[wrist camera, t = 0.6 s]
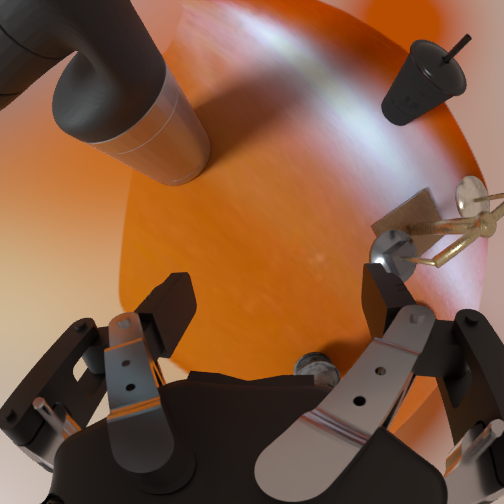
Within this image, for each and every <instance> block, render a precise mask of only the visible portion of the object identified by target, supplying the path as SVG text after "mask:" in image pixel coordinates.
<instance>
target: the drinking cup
mask: <svg viewBox="0 0 504 504" xmlns="http://www.w3.org/2000/svg"><path fill="white" fill-rule="evenodd" d="M471 39H472V38H471V37H470V36H469V35H468V34H466V35H465V36H464V37H463V38H462V39H461V40H460V41H459V42H458V43H457V44H456V45H455V47H453V49H452V50H451V51H450V52H449V53H448V52H447V51H446V50H444V49H443V48H442V47H440V46H439V45H437V44H435V43H433V42H431V41H427V40H416V41H415V42H413V43H412V45H411V47H410V53H409V55H408V57H407V59H406V61H405V63H404V64H403V66H402V68H401V70H400V72H399V73H398V75H397V77H396V79H395V81H394V82H393V84H392V86H391V88H390V89H389V91H388V93H387V95H386V96H385V98H384V100H383V102H382V104H381V108H382V112H383V114H384V116H385V117H386V118H387V119H388V120H389V121H390V122H391V123H393V124H395V125H398V126H403V125H406V124H407V123H409V122H411V121H412V120H414V119H416V118H417V117H419V116H421V115H422V114H424V113H426V112H427V111H429V110H431V109H433V108H434V107H436V106H438V105H439V104H441V103H443V102H445V101H446V100H448V99H450V98H451V97H453V96H459V95H461V94H463V93H464V92H465V90H466V86H467V84H466V78H465V75H464V73H463V71H462V69H461V67H460V66H459V64H458V63H457V61H456V60H455V59H454V58H453V57H454V56H455V55H456V54H457V53H458V52H459V51H460V50H461V49H462V48H463V47H464V46H465V45H466V44H467V43H468V42H469V41H470V40H471Z"/></svg>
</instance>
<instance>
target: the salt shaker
mask: <svg viewBox="0 0 504 504" xmlns="http://www.w3.org/2000/svg"><path fill="white" fill-rule="evenodd" d="M312 374H314V383H315V384H320V385H324V386H328V387H331V388H333V389H334V388H335V386H336V385H337V384H338V383H339V382H340V373H339V370H338V369H337V367H336V366H334V365H333V364H332V363H331V360H330V359H329V357H327V356H326V355H325V354H322V353H318V352H313V353H308V354H306V355H304V356H302V357H301V358H300V359H299V360H298V361H297V363H296V364H295V367H294V375H312Z"/></svg>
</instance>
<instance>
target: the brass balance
mask: <svg viewBox="0 0 504 504" xmlns="http://www.w3.org/2000/svg"><path fill="white" fill-rule="evenodd" d="M499 198H504V193H501V194H496V195H491V196H488V193H487V190H486V188H485V186H484V184H483V183H482V182H481V181H480V180H479V179H478V178H477V177H475V176H466V177H463V178H462V179H461V180H460V181H459V183H458V185H457V188H456V204H457V208H458V211H459V213H460V215H461V217H462V218H456V219H447V220H441V219H440V216H439V214H438V212H437V210H436V208H435V206H434V204H433V202H432V200H431V198H430V196H429V194H428V192H427V190H426V189H424V190H421V191H420V192H418V193H417V194H415V195H414V196H413V197H411V198H410V199H408V200H407V201H406V202H404V203H403V204H401V205H400V206H399V207H397V208H396V209H394V210H393V211H392V212H390V213H389V214H387V215H386V216H384V217H383V218H382V219H380V220H379V221H377V222H376V223H374V224H373V225H371V228H372V229H373V231H374V233H375V235H376V237H377V238H376V239H375V240H374V242H373V244H372V246H371V249H370V254H369V262H370V263H381V264H382V265H383V267H384V268H385V270H386V272H387V273H391V272H392V273H394V274H395V275H397V276H398V277H400V278H401V280H402V281H403V282H405V281H406V280H408V279H409V278H410V276H411V275H412V274H413V272H414V270H415V268H416V264H418V263H419V264H426V265H432V266H436V267H437V268H439V267H441V266H442V265H443V264H445V263H446V262H448V261H449V260H450V259H452V258H453V257H454V256H456V255H457V254H458V253H459V252H461V251H462V250H463V249H465V248H466V247H467V246H468V245H470V244H471V243H472V242H473V241H475V240H476V239H477V238H478V237H479V236H480V237H482V238H489V237H491V236H492V235H493V234H494V233H495V231H496V222H497V221H498V220H499V219H500V218H501V217H502V216H504V202H502V203H501V204H500V205H499V206H498V207H497V208H496V209H495V210H493V211H492V212H491V213H490V212H489V209H490V202H489V200H493V199H499ZM450 234H464V235H463V236H462V237H460V238H459V239H458V240H456V241H455V242H454V243H452V244H451V245H450V246H448V247H447V248H446V249H444V250H443V251H442V252H440V253H439V254H437V255H436V256H435V257H433V260H432V259H424V258H418V257H419V256H421V255H422V254H423V253H424V252H426V251H427V250H428V249H429V248H430V247H432V246H433V245H434V244H435V243H436V242H437V241H439V240H440V239H441V238H442V237H443V236H444V235H450Z"/></svg>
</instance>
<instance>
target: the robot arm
mask: <svg viewBox="0 0 504 504" xmlns="http://www.w3.org/2000/svg"><path fill="white" fill-rule="evenodd" d="M74 51H78V52H77V54H76V55H75V56H74V57H73V58H72V60H71V61H70V62H69V64H68V65H67V67H66V68H65V70H64V71H63V73H62V75H61V77H60V79H59V81H58V83H57V85H56V88H55V91H54V95H53V102H52V111H53V116H54V119H55V121H56V123H57V125H58V126H59V127H60V128H61V129H62V130H63V131H64V132H65V133H67V134H69V135H71V136H73V137H75V138H76V139H78V140H80V141H82V142H85V143H86V144H88V145H90V146H92V147H94V148H96V149H98V150H100V151H102V152H104V153H106V154H107V155H110V156H111V157H113V158H115V159H117V160H119V161H121V162H123V163H124V164H127V165H128V166H130V167H132V168H134V169H136V170H137V171H139V172H141V173H143V174H145V175H147V176H148V177H150V178H152V179H154V180H156V181H158V182H159V183H162V184H165V185H171V186H174V185H181V184H184V183H187V182H189V181H191V180H193V179H194V178H195V177H196V176H198V175H199V174H200V173H201V172H202V170H203V169H204V168H205V166H206V164H207V162H208V160H209V157H210V150H211V146H210V140H209V137H208V135H207V133H206V131H205V130H204V128H203V126H202V124H201V122H200V121H199V119H198V117H197V115H196V113H195V112H194V110H193V108H192V106H191V105H190V103H189V101H188V100H187V98H186V96H185V94H184V93H183V91H182V89H181V87H180V86H179V84H178V82H177V81H176V79H175V77H174V75H173V74H172V72H171V71H170V69H169V67H168V65H167V64H166V62H165V60H164V59H163V57H162V55H161V53H160V52H159V50H158V49H157V47H156V45H155V44H154V42H153V40H152V38H151V37H150V35H149V33H148V31H147V30H146V28H145V26H144V24H143V22H142V21H141V19H140V17H139V16H138V14H137V12H136V11H135V9H134V7H133V6H132V3H131V2H130V0H0V111H1V110H2V109H3V108H5V107H6V106H7V105H9V104H10V103H11V102H12V101H14V100H15V99H16V98H17V97H18V96H19V95H21V94H22V93H23V92H24V91H25V90H26V89H27V88H28V87H29V86H30V85H31V84H33V83H34V82H35V81H36V80H37V79H38V78H40V77H41V76H42V75H43V74H45V73H46V72H47V71H48V70H49V69H51V68H52V67H53V66H55V65H56V64H57V63H59V62H60V61H61V60H63V59H64V58H65V57H67V56H68V55H70V54H71V53H73V52H74ZM361 299H362V308H363V311H364V314H365V317H366V320H367V324H368V327H369V330H370V333H371V337H372V342H371V343H370V344H369V346H368V347H367V348H366V350H365V351H364V352H363V353H362V355H361V356H360V357H359V359H358V360H357V361H356V362H355V364H354V365H353V366H352V367H351V369H350V370H349V371H348V372H347V373H346V375H345V376H344V377H343V378H342V379H341V381H340V382H339V383H338V384H337V385H336V386H335V388H334V389H333V388H331V387H328V386H324V385H320V384H315V383H314V374H312V375H281V376H275V377H270V378H264V379H258V380H252V381H246V380H242V379H238V378H234V377H230V376H227V375H223V374H220V373H209V372H198V371H190V373H189V375H188V378H187V379H184V380H178V381H175V382H171V383H168V384H166V382H165V380H164V377H163V374H162V371H161V368H160V365H159V363H158V361H157V360H158V358H159V357H162V358H170V357H171V355H172V354H173V352H174V350H175V348H176V346H177V345H178V343H179V341H180V339H181V338H182V336H183V334H184V332H185V330H186V329H187V327H188V325H189V323H190V322H191V320H192V318H193V316H194V315H195V313H196V308H197V304H196V298H195V294H194V290H193V286H192V282H191V278H190V275H189V274H188V273H187V272H179V273H171V274H170V276H169V277H168V278H167V279H166V280H165V281H164V282H163V283H162V284H160V285H159V286H157V287H155V288H154V289H153V291H152V292H151V293H150V295H148V296H147V297H146V300H144V301H143V302H142V303H141V304H140V305H139V306H138V308H137V309H136V310H135V311H134V312H126V313H122V314H120V315H118V316H116V317H114V318H113V319H112V320H111V321H110V323H109V326H107V327H99V328H97V326H96V324H95V322H94V320H93V319H92V318H83V319H80V320H78V321H76V322H74V323H73V324H72V325H71V326H70V327H69V328H68V329H67V330H66V331H65V332H64V333H63V334H62V335H61V336H60V338H59V339H58V340H57V341H56V342H55V343H54V344H53V345H52V346H51V348H50V349H49V350H48V351H47V352H46V353H45V354H44V355H43V357H42V358H41V359H40V360H39V361H38V362H37V364H36V365H35V366H34V367H33V368H32V369H31V371H30V372H29V373H28V374H27V376H26V377H25V378H24V379H23V380H22V382H21V383H20V384H19V385H18V387H17V388H16V389H15V390H14V392H13V393H12V394H11V396H10V397H9V398H8V399H7V401H6V402H5V403H4V405H3V406H2V407H1V409H0V428H1V430H2V431H3V432H4V433H5V434H6V435H7V436H8V437H9V438H10V439H11V440H12V441H13V443H14V444H15V445H16V446H17V447H19V448H20V449H21V450H22V451H23V452H24V453H25V454H26V455H27V456H28V457H30V458H31V459H32V460H34V461H35V462H37V463H38V464H39V465H40V466H42V467H43V468H44V469H46V470H47V471H48V472H51V473H53V477H52V483H51V488H50V491H49V494H48V496H47V498H46V499H45V500H44V501H43V502H42V503H41V504H490V503H492V502H493V501H495V500H497V499H498V498H500V497H501V496H503V495H504V345H503V343H502V341H501V340H500V338H499V337H498V335H497V334H496V332H495V331H494V329H493V328H492V326H491V325H490V323H489V322H488V320H487V319H486V318H485V316H484V315H483V314H481V313H480V312H478V311H476V310H472V309H463V310H460V311H458V312H457V314H456V316H455V319H454V321H446V320H437V319H435V315H434V313H433V312H432V311H431V310H430V309H428V308H427V307H424V306H421V305H417V303H416V302H415V300H414V299H413V297H412V295H411V294H410V292H409V291H408V290H407V288H406V286H405V285H404V283H403V281H402V280H401V278H400V277H398V276H397V275H395V274H394V273H392V272H391V273H387V272H386V270H385V268H384V267H383V265H382V264H381V263H366V264H364V267H363V281H362V296H361ZM81 356H82V358H83V360H84V362H85V363H86V365H87V367H88V368H87V369H86V371H85V372H84V374H83V375H82V377H81V378H80V379H79V381H78V382H77V380H76V379H75V377H74V375H73V368H74V366H75V364H76V363H77V362H78V360H79V359H80V358H81ZM469 368H470V369H469ZM417 375H418V376H430V377H436V381H437V384H438V387H439V390H440V393H441V396H442V400H443V403H444V406H445V410H446V414H447V417H448V421H449V425H450V429H451V433H452V437H453V442H454V448H453V449H452V450H451V451H450V452H449V454H448V456H447V459H446V471H445V475H444V477H443V476H442V474H441V473H440V472H439V470H438V469H437V468H435V467H434V466H433V465H431V464H430V463H429V462H428V461H426V460H425V459H424V458H422V457H421V456H420V455H418V454H417V453H416V452H415V451H413V450H412V449H411V448H410V447H408V446H407V445H406V444H404V443H403V442H402V441H401V440H399V439H398V438H397V437H396V436H394V435H393V434H392V433H391V432H389V431H388V428H389V427H390V425H391V423H392V421H393V419H394V418H395V416H396V414H397V412H398V410H399V408H400V407H401V405H402V403H403V401H404V399H405V397H406V396H407V394H408V392H409V390H410V388H411V386H412V384H413V382H414V380H415V378H416V376H417ZM106 392H108V401H109V408H110V414H109V415H108V416H107V417H106V418H104V419H102V420H100V421H98V422H96V423H94V424H92V425H91V426H88V427H86V426H87V424H88V422H89V421H90V419H91V417H92V415H93V414H94V412H95V410H96V408H97V406H98V405H99V403H100V402H101V400H102V398H103V397H104V395H105V393H106Z"/></svg>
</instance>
